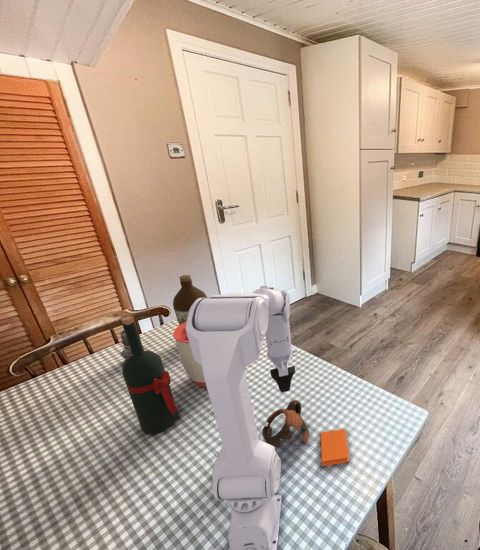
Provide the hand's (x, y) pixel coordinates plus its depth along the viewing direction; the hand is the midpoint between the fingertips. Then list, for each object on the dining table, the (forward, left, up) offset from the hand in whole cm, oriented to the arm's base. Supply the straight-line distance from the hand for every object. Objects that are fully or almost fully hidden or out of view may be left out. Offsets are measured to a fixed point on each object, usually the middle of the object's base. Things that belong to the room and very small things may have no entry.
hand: (283, 380), depth 78 cm
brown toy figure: (-9, -1, -9) cm, 13 cm away
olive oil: (+38, +34, -9) cm, 52 cm away
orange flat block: (-14, -12, -9) cm, 21 cm away
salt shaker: (+29, +51, -9) cm, 59 cm away
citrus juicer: (+17, +22, -9) cm, 29 cm away
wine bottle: (0, +30, -9) cm, 32 cm away
